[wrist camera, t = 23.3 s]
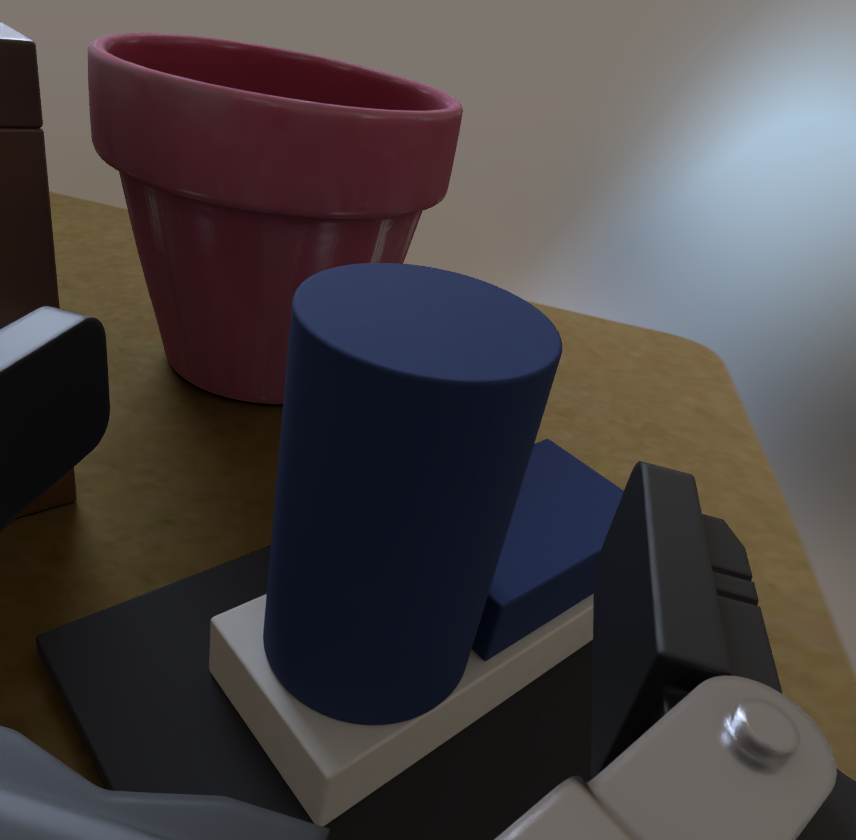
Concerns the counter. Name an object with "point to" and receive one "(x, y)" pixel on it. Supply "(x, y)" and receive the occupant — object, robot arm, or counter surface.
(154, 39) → the flower pot
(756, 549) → the counter surface
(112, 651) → the shoe mat
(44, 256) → the shoe bench
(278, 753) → the boot
